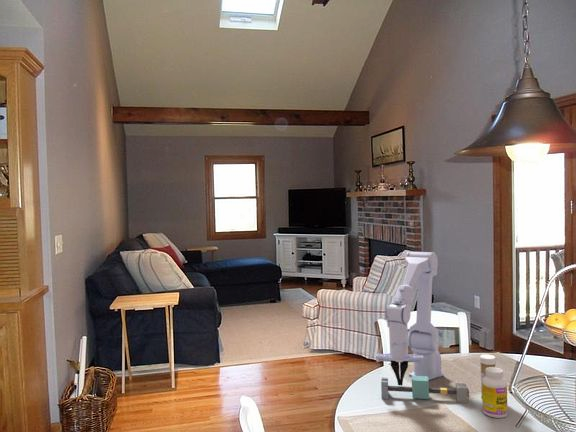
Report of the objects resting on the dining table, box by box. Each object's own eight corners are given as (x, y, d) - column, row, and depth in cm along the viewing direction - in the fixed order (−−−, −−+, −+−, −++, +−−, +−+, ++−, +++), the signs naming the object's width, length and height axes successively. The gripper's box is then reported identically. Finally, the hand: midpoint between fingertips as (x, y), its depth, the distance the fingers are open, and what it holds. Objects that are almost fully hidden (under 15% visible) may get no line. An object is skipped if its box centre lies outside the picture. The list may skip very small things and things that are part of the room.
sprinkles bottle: (500, 400, 145) (499, 356, 144) (490, 403, 143) (488, 359, 142) (487, 394, 149) (486, 352, 148) (477, 398, 147) (476, 355, 146)
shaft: (386, 391, 151) (386, 386, 150) (386, 389, 152) (386, 385, 152) (462, 395, 145) (462, 390, 145) (462, 393, 147) (461, 388, 147)
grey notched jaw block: (381, 398, 149) (381, 382, 149) (382, 392, 154) (381, 376, 154) (388, 399, 149) (387, 382, 149) (388, 392, 154) (387, 376, 153)
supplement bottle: (497, 421, 132) (495, 375, 131) (477, 412, 138) (476, 368, 137) (512, 415, 135) (511, 370, 134) (493, 406, 141) (492, 364, 140)
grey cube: (457, 402, 145) (456, 387, 144) (456, 397, 148) (455, 383, 148) (469, 402, 144) (469, 388, 144) (467, 397, 147) (467, 383, 147)
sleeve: (412, 398, 147) (411, 380, 147) (412, 392, 151) (411, 375, 151) (429, 398, 146) (428, 381, 146) (428, 393, 150) (427, 376, 150)
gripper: (374, 345, 148) (376, 387, 148) (423, 346, 144) (424, 390, 145) (376, 338, 154) (377, 379, 155) (422, 339, 151) (423, 381, 151)
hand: (400, 384), depth 150 cm, fingers closed
